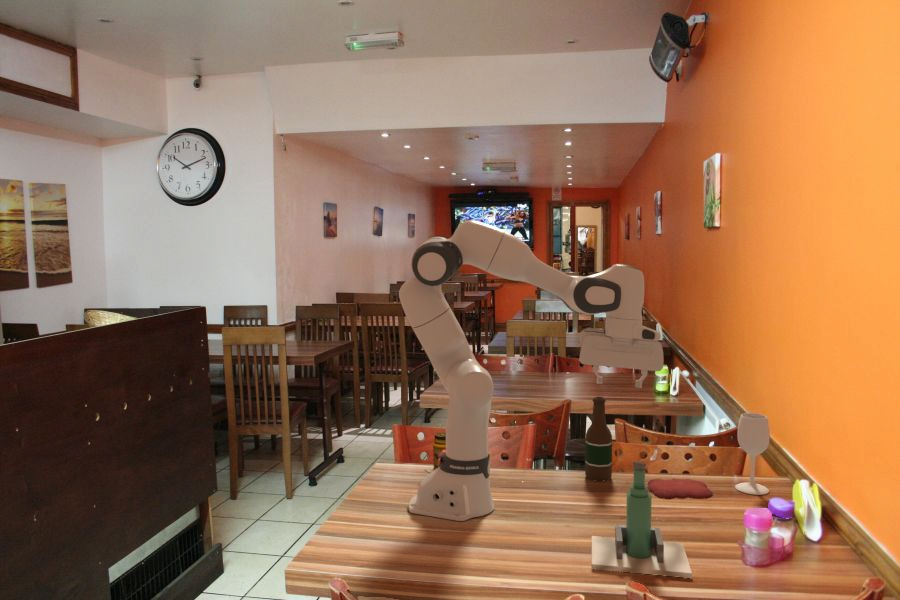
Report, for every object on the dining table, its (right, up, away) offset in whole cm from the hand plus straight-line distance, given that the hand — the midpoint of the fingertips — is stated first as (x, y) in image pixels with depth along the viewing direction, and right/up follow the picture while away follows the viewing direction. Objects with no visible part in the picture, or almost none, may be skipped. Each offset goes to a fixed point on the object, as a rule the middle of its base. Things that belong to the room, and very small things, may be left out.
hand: (618, 385), depth 162 cm
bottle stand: (-1, -35, -20) cm, 40 cm away
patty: (+22, -33, +21) cm, 45 cm away
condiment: (-44, -32, +37) cm, 66 cm away
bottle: (-1, -34, -20) cm, 39 cm away
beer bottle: (+2, -32, +31) cm, 45 cm away
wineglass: (+43, -32, +21) cm, 57 cm away
